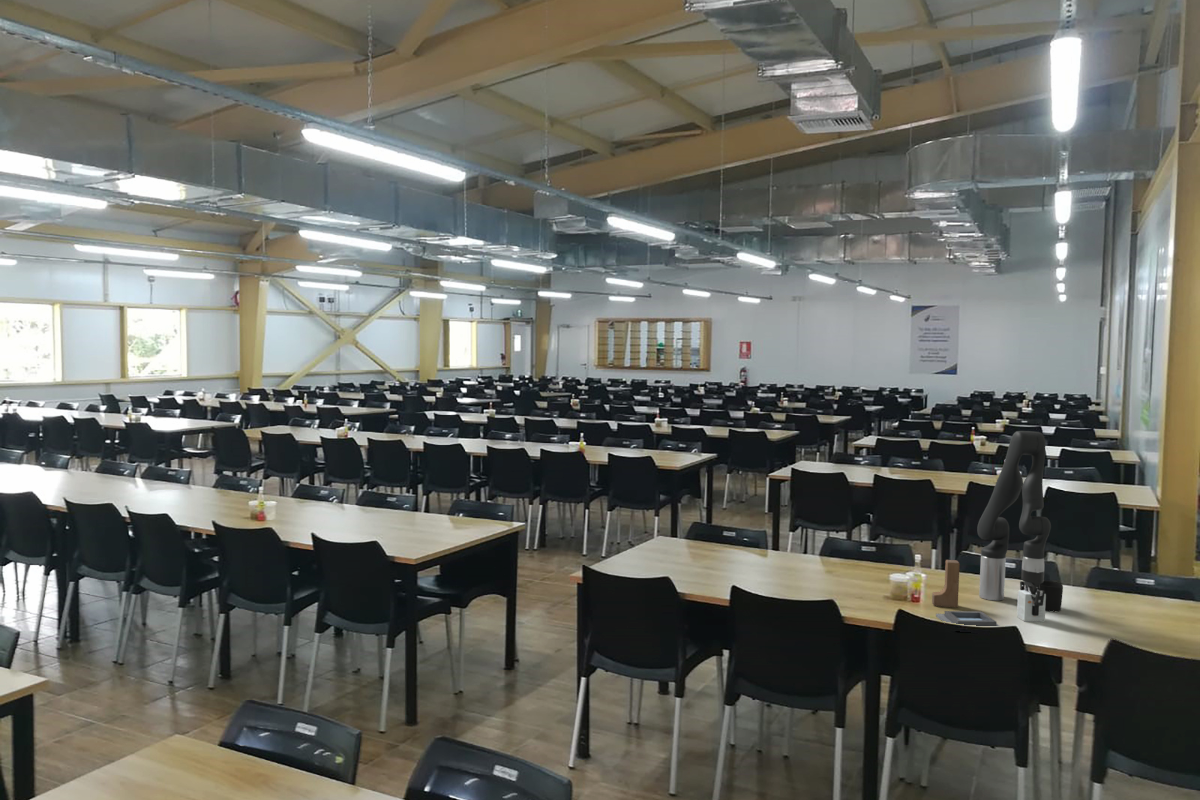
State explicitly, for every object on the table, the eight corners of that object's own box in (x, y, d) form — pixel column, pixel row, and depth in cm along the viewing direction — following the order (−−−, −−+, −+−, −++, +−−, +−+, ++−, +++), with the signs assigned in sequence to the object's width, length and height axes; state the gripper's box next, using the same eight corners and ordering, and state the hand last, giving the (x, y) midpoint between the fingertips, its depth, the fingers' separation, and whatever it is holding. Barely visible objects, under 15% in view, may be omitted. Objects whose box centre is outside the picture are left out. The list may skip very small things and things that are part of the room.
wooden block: (933, 606, 334) (935, 561, 333) (931, 603, 339) (933, 558, 337) (958, 608, 332) (959, 563, 331) (955, 604, 337) (957, 560, 336)
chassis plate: (935, 616, 321) (936, 608, 321) (983, 616, 321) (983, 609, 321) (955, 631, 303) (955, 623, 303) (1005, 632, 303) (1006, 624, 303)
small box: (1036, 617, 322) (1038, 589, 322) (1045, 621, 317) (1046, 594, 316) (1016, 617, 322) (1017, 589, 321) (1024, 621, 316) (1025, 594, 316)
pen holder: (1067, 612, 329) (1068, 586, 329) (1045, 612, 328) (1046, 587, 327) (1051, 604, 339) (1052, 580, 338) (1029, 605, 337) (1030, 580, 337)
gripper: (1013, 563, 325) (1011, 607, 326) (1032, 573, 311) (1030, 618, 312) (1033, 564, 325) (1031, 607, 326) (1053, 574, 311) (1050, 619, 312)
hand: (1030, 612), depth 319 cm, fingers closed on small box, 5 cm apart
